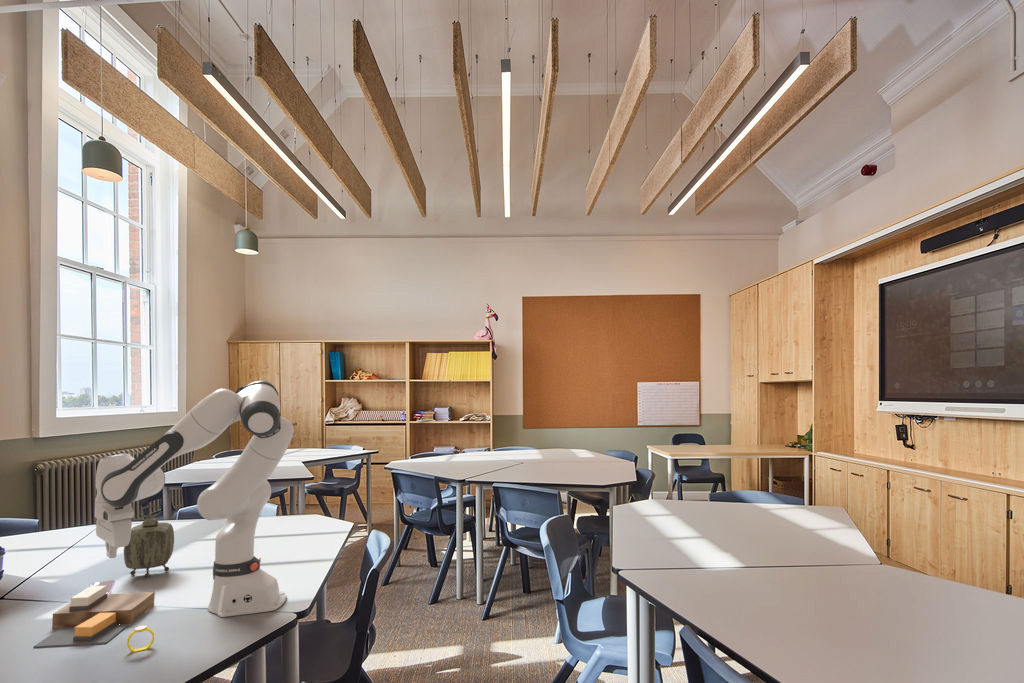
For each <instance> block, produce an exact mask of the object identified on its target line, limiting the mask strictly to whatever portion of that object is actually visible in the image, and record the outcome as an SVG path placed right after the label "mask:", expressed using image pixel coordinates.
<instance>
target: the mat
mask: <svg viewBox="0 0 1024 683" xmlns="http://www.w3.org/2000/svg"><path fill="white" fill-rule="evenodd" d="M129 626H130V624H120V625H116V626H115V627H113V628H112V629H110V630H108V631H107V632H105V633H104V634H102V635H100V636H99V637H97V638H96V639H94V640H92V641H73V637H74V636H75V627H64V628H59V629H57V630H56V631H54V632H52V633H51V634H50V635H48V636H47V637H45V638H43V640H40V641H39V642H38V643H36V644H35V645H33V649H36V648H37V649H38V648H41V649H42V648H56V647H73V646H91V645H106V644H108V643H110V642H111V641H112V640H113V639H114V638H115V637H116V636H117V637H118V635H119V634H121V633H122V632H123V631H124V630H126V629H127V628H128V627H129Z"/></svg>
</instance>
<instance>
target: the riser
mask: <svg viewBox="0 0 1024 683" xmlns="http://www.w3.org/2000/svg"><path fill="white" fill-rule="evenodd" d="M155 595H156V594H155V591H147V592H146V591H145V592H126V593H110V594H107V598H105V599H104V600H102V601H101V602H99V603H98V604H96V605H95V606H93V607H92V608H90V609H89V610H81V611H69V607H70V606H71V602H70V603H68V604H67V605H65V606H63V607H61V608H60V609H58V610H57V611H55V612H54V613H52V622H51V623H52V625H51V628H52V629H58V628H59V629H60V628H64V627H76V626H78V625H80V624H81V623H83V622H85V621H87V620H88V619H90V618H92V617H94V616H95V615H97V614H99V613H116V621H117V625H119V624H129V625H131V624H133V623H132V622H133V621H134V622H135V621H136V620H138V619H139V618H140V617H141V616H143V615H144V614H145V613H146V612H148V611H149V610H150V609H151V608H153V607H154V605H155Z"/></svg>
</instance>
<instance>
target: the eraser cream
mask: <svg viewBox="0 0 1024 683" xmlns="http://www.w3.org/2000/svg"><path fill="white" fill-rule="evenodd" d="M106 592H107V585H105V586H90V587H88V586H87V588H85V589H84V590H82V591H80V592H78V593H77V594H75V595H74V596H72V597H70V603H71V606H70V607H69V611H81V610H89V609H90V608H92V607H93V606H95V605H96V604H98V603H99V602H101V601H102V600H104V599H105V598H107V593H106Z"/></svg>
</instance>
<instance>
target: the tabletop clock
mask: <svg viewBox="0 0 1024 683" xmlns="http://www.w3.org/2000/svg"><path fill="white" fill-rule="evenodd" d="M148 508H156V509H158V510H159V512H158V513H156V514H152V512H150V513H148V515H145V514H144V515H143V514H142V513H141V512H142V511H143V510H145V509H148ZM138 513H139V516H141V517H142V518H146V519H144V520H143V521H142V523H141V524H138V525H135V526H133V527H131V537H130V542H129V544H128V546H124V547H123V558H124V559H123V561H124V565H125V567H126V569H131V571H130V573H129V574H130V575H131V576H134V575H135V574H136V570H143V569H144V570H146V573H144V578H146V579H148V578H150V576H151V574H150V573H149V571H150V569H153V568H158V567H163V570H164V572H168V571H169V570H170V567H169V566H166V564H167V563H168V561H170V559H171V557H172V555H173V552H174V548H175V547H174V546H175V531H174V527H173V525H172V523H169V522H159V521H158V519H157V518H155V517H158V516H160V514H161V513H162V508H161V507H160V506H158V505H151V504H150V505H145V506H144V507H142V508H140V510H139V512H138Z"/></svg>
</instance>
